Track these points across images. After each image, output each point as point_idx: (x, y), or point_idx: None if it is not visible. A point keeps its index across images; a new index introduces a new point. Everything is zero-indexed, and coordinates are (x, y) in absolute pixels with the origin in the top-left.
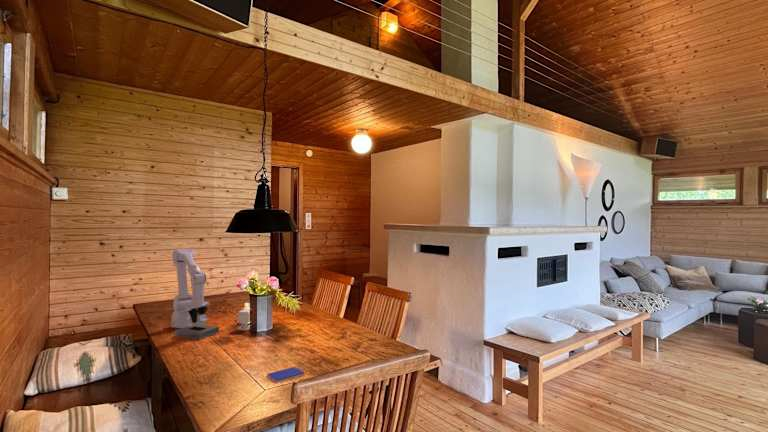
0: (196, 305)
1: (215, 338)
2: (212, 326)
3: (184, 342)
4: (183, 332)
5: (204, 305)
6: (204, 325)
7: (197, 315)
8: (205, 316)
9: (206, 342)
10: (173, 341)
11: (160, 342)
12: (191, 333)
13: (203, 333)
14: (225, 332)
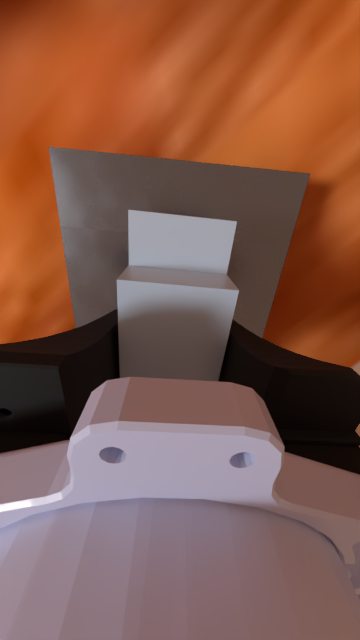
0: (338, 559)
1: (228, 45)
2: (73, 224)
3: (346, 244)
4: (260, 333)
5: (139, 395)
6: (85, 307)
7: (199, 352)
8: (126, 271)
9: (351, 49)
10: (325, 318)
11: (342, 362)
12: (281, 265)
13: (256, 170)
14: (42, 85)
